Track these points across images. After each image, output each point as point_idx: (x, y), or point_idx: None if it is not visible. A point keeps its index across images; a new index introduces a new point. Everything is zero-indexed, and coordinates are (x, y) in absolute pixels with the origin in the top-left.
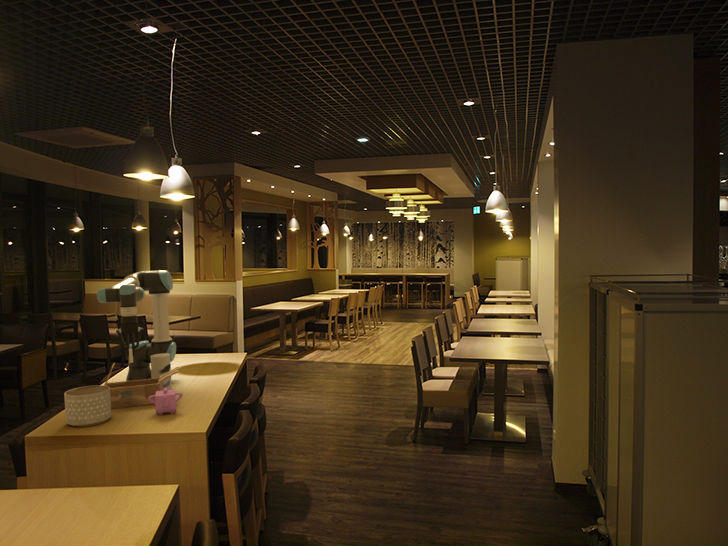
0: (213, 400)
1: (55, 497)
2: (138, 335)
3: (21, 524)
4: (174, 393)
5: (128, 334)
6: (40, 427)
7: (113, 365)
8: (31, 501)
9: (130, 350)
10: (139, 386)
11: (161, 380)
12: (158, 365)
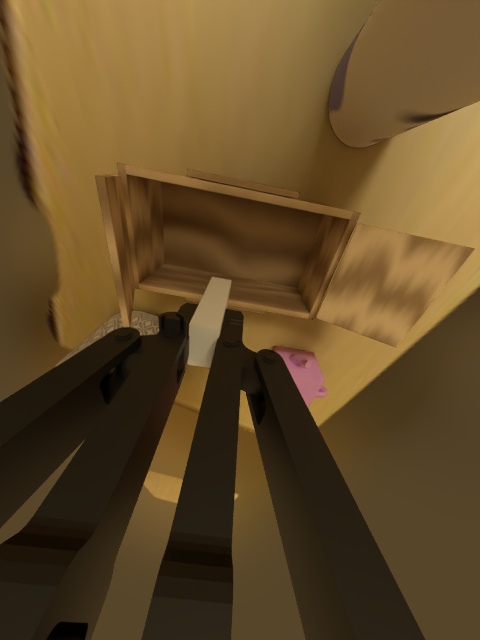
0: (406, 336)
1: (167, 481)
2: (299, 580)
3: (157, 492)
4: (307, 406)
5: (81, 611)
6: (62, 327)
7: (120, 283)
8: (153, 480)
9: (201, 362)
10: (249, 306)
11: (324, 319)
12: (436, 96)
